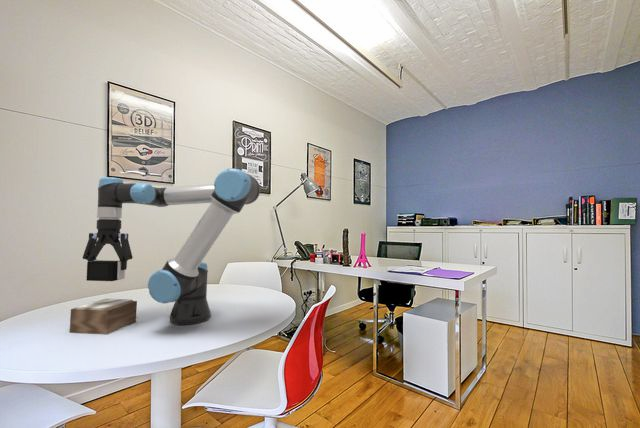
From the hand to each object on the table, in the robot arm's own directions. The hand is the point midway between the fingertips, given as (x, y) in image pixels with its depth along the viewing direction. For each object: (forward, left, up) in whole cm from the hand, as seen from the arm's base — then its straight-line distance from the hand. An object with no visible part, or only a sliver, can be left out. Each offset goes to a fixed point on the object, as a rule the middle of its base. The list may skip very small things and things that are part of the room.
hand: (106, 278), depth 109 cm
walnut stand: (0, -1, -18) cm, 18 cm away
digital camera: (0, +1, -1) cm, 1 cm away
